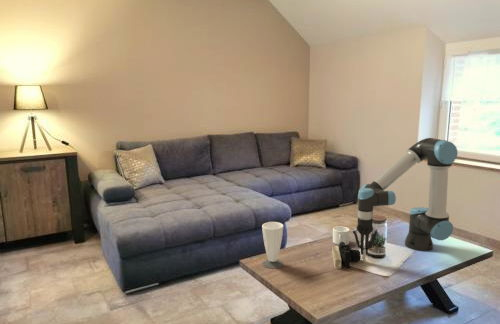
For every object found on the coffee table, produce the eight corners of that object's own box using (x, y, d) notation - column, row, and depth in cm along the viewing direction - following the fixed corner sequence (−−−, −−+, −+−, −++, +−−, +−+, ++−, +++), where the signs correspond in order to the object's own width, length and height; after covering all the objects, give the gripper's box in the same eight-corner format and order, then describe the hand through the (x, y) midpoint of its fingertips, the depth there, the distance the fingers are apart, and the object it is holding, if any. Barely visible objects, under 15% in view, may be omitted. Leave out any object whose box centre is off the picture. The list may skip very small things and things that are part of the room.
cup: (287, 263, 200) (288, 224, 196) (274, 270, 191) (274, 230, 187) (271, 257, 207) (271, 220, 203) (257, 264, 199) (257, 225, 195)
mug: (348, 249, 217) (349, 234, 215) (331, 246, 221) (331, 232, 219) (350, 241, 228) (351, 227, 226) (333, 239, 232) (334, 225, 230)
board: (337, 254, 210) (337, 245, 209) (341, 268, 193) (341, 259, 192) (332, 253, 211) (332, 245, 210) (335, 268, 193) (335, 259, 192)
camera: (363, 268, 193) (364, 250, 191) (342, 268, 193) (343, 250, 191) (356, 257, 206) (357, 240, 205) (337, 257, 207) (337, 239, 205)
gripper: (376, 215, 198) (374, 257, 202) (351, 215, 200) (350, 256, 204) (379, 220, 191) (377, 263, 195) (353, 219, 192) (352, 262, 196)
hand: (363, 260), depth 199 cm, fingers closed
